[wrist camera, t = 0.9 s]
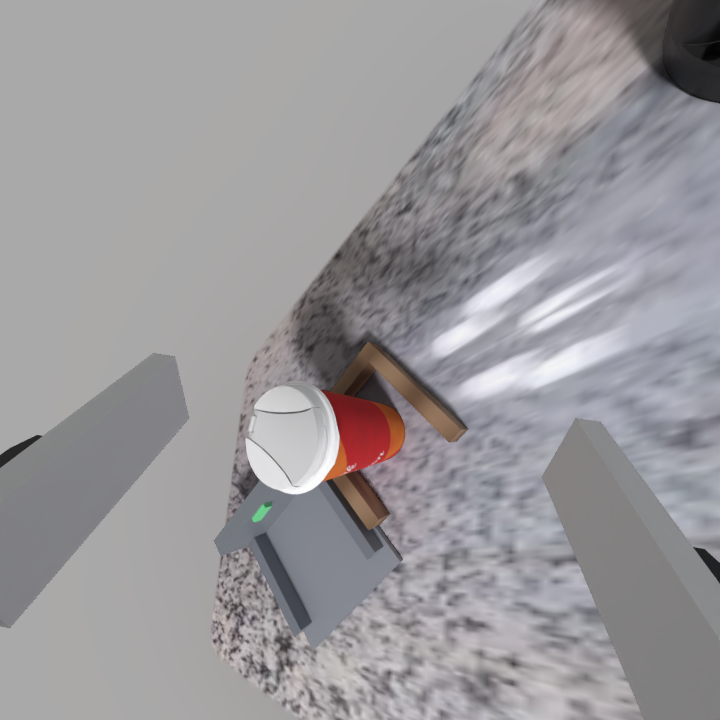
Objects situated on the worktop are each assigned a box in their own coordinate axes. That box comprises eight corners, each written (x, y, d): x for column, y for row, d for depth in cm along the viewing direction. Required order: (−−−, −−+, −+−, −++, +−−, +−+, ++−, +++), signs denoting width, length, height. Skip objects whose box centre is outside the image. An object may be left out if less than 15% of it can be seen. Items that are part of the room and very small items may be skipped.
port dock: (255, 527, 44) (213, 540, 39) (319, 445, 40) (283, 448, 35) (316, 647, 36) (275, 683, 31) (402, 559, 33) (372, 584, 28)
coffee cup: (341, 456, 38) (229, 471, 26) (358, 386, 38) (256, 368, 26) (406, 484, 34) (308, 520, 21) (425, 404, 34) (339, 394, 21)
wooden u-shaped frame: (312, 431, 41) (299, 432, 39) (378, 345, 38) (368, 341, 36) (380, 524, 34) (368, 530, 32) (468, 429, 31) (460, 429, 29)
